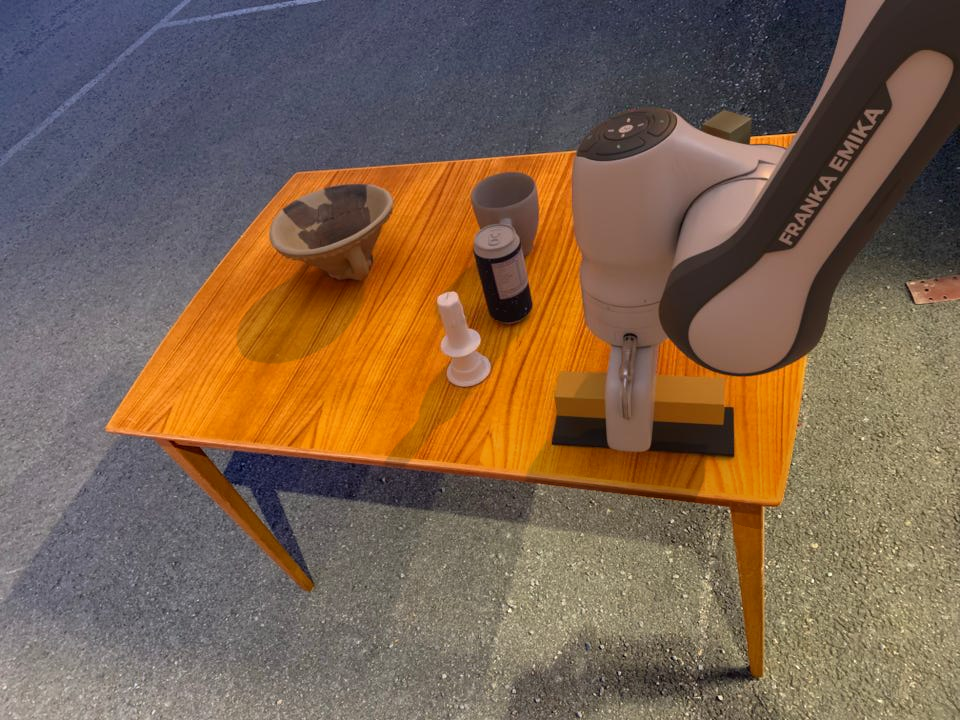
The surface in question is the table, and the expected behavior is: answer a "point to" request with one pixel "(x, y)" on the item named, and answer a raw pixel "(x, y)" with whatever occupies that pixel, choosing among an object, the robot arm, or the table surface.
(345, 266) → the bowl
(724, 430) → the mat
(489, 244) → the beverage can
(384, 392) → the table surface
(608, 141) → the robot arm
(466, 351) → the candle
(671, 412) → the bar
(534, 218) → the mug
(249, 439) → the table surface
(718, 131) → the tower
